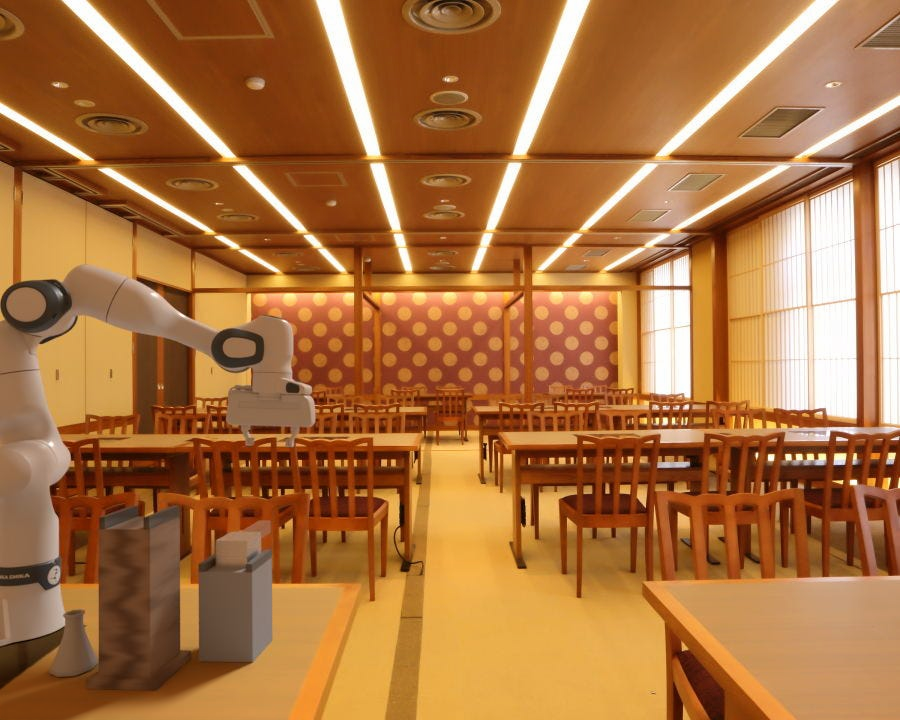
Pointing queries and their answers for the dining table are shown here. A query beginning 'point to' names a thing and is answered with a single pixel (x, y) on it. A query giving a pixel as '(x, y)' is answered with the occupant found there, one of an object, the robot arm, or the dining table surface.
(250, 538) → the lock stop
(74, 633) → the flask
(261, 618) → the grey post
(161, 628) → the tall post
